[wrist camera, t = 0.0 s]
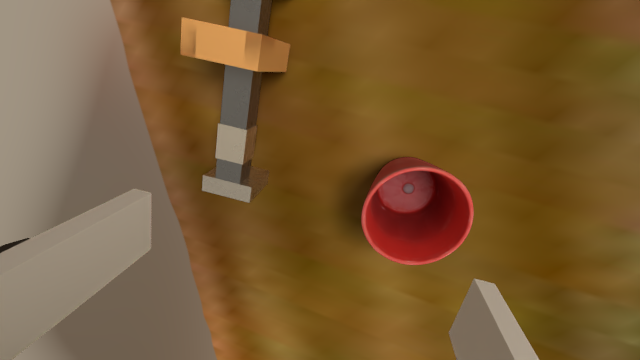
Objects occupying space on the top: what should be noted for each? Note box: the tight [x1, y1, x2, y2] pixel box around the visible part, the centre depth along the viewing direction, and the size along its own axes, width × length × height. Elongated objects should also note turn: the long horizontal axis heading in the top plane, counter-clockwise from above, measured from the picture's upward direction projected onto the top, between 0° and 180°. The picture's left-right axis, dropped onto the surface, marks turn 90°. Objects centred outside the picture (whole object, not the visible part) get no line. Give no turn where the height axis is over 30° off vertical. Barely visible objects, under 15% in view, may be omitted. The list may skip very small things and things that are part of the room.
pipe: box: [202, 0, 272, 203], centre depth 35 cm, size 25×6×7 cm, turn 168°
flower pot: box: [361, 157, 474, 265], centre depth 35 cm, size 11×11×10 cm
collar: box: [181, 17, 290, 72], centre depth 31 cm, size 3×7×10 cm, turn 78°
